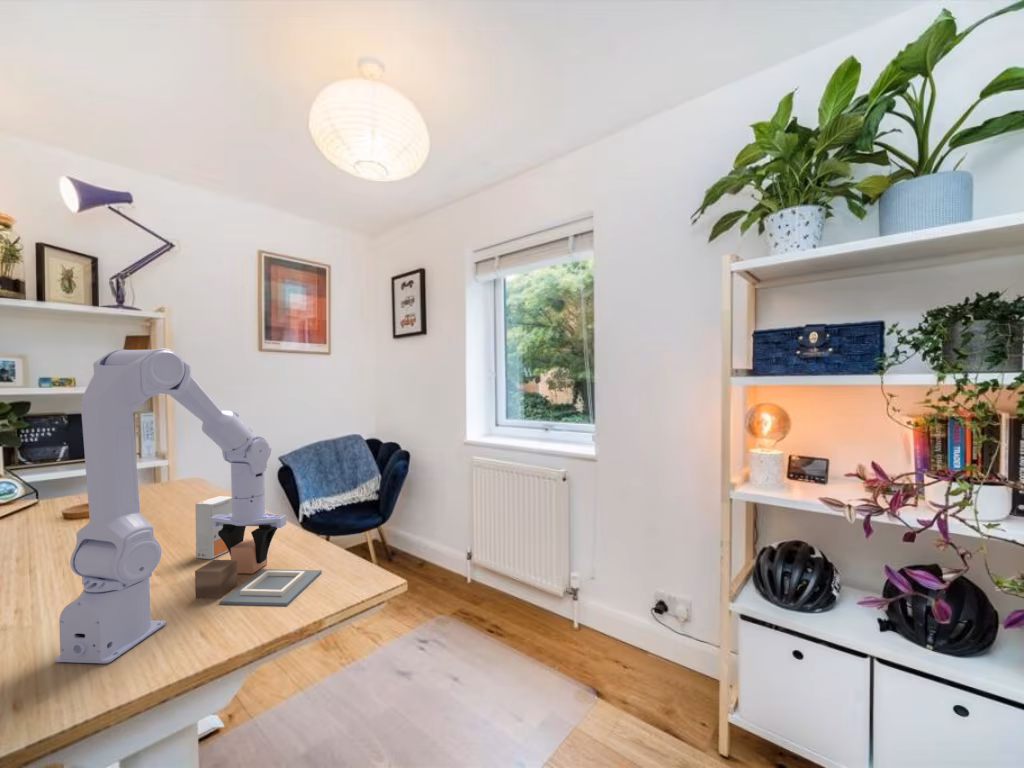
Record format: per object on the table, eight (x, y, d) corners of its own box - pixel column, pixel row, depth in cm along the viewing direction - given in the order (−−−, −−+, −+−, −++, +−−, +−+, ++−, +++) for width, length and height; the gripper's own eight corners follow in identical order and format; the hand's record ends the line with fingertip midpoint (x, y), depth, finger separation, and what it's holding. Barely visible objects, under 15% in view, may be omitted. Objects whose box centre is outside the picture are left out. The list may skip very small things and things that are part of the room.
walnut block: (220, 599, 75) (219, 571, 75) (195, 598, 75) (194, 570, 75) (237, 586, 80) (237, 560, 80) (214, 585, 80) (213, 559, 80)
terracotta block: (253, 573, 84) (252, 548, 84) (231, 573, 84) (230, 548, 84) (267, 563, 89) (266, 539, 89) (246, 562, 89) (245, 539, 89)
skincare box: (212, 560, 91) (210, 504, 90) (195, 558, 92) (194, 503, 91) (235, 548, 97) (234, 496, 96) (220, 547, 98) (218, 495, 97)
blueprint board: (287, 605, 73) (287, 598, 73) (219, 604, 73) (219, 596, 73) (321, 572, 85) (321, 566, 85) (263, 571, 85) (263, 565, 85)
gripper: (294, 489, 90) (295, 553, 90) (227, 489, 91) (229, 552, 91) (273, 499, 83) (275, 568, 83) (202, 498, 83) (203, 567, 84)
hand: (249, 561), depth 87 cm, fingers closed on terracotta block, 4 cm apart
